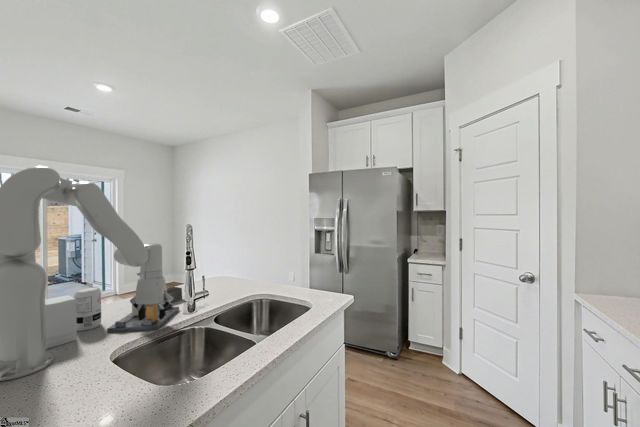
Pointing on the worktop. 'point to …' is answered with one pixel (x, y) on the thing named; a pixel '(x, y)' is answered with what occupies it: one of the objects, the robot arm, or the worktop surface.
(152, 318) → the orange fader
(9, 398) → the worktop surface
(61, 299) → the supplement box
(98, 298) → the supplement can
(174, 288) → the beverage carton
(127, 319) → the console
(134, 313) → the cream fader
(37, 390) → the worktop surface
